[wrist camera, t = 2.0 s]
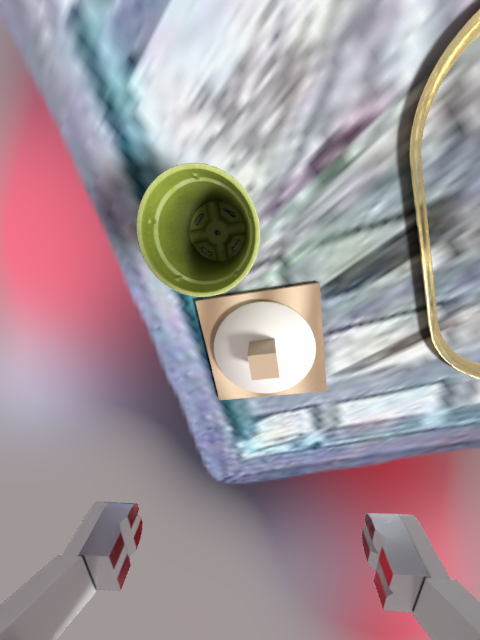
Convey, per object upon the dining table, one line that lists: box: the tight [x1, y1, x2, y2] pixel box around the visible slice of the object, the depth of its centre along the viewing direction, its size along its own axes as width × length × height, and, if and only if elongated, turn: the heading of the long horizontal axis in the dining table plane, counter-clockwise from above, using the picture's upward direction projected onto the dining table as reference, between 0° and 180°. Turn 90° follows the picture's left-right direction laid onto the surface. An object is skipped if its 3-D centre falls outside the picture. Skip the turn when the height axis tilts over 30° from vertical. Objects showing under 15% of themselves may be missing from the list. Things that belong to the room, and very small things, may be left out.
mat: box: [195, 282, 327, 400], centre depth 31 cm, size 14×14×1 cm
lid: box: [214, 301, 316, 393], centre depth 29 cm, size 12×12×4 cm
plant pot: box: [137, 163, 260, 297], centre depth 23 cm, size 9×9×9 cm
